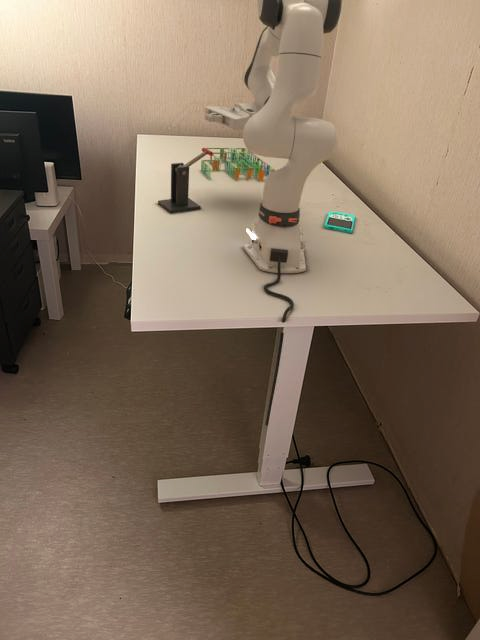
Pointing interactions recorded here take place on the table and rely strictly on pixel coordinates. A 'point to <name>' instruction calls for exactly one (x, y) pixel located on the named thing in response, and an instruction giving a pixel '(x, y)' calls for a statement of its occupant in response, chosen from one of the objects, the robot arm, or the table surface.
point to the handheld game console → (340, 222)
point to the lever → (197, 158)
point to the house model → (244, 160)
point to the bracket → (179, 191)
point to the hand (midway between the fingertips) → (206, 118)
